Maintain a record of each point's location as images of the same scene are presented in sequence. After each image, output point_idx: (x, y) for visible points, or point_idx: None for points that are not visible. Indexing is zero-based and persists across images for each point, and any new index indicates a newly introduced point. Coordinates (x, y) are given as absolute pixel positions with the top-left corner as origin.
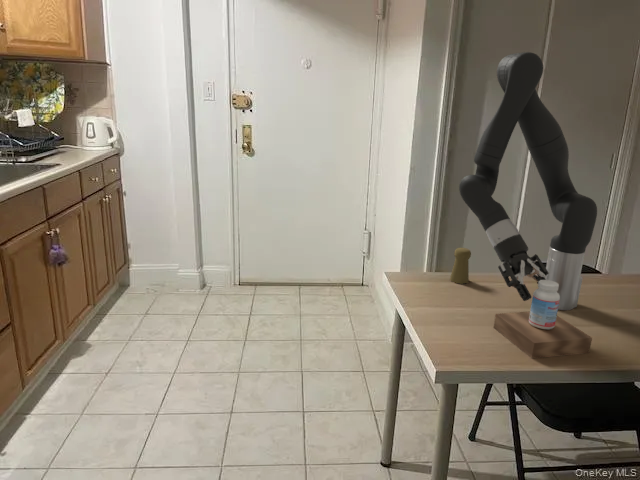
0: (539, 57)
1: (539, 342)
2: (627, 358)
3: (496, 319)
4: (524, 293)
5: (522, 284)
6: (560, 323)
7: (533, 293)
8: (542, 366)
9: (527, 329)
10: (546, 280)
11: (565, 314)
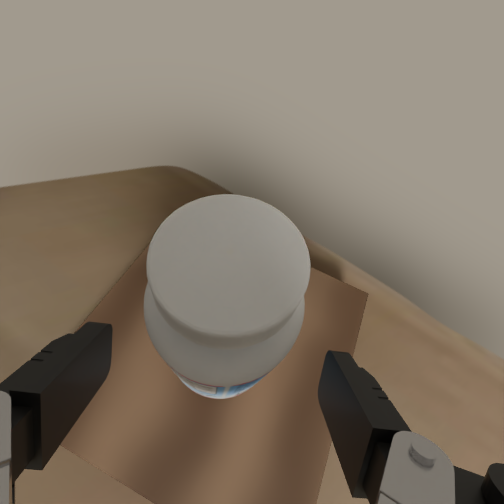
0: None
1: (350, 286)
2: (141, 177)
3: None
4: (378, 387)
5: (383, 445)
6: (142, 305)
7: (269, 370)
8: (352, 277)
9: (305, 359)
10: (179, 293)
11: None
